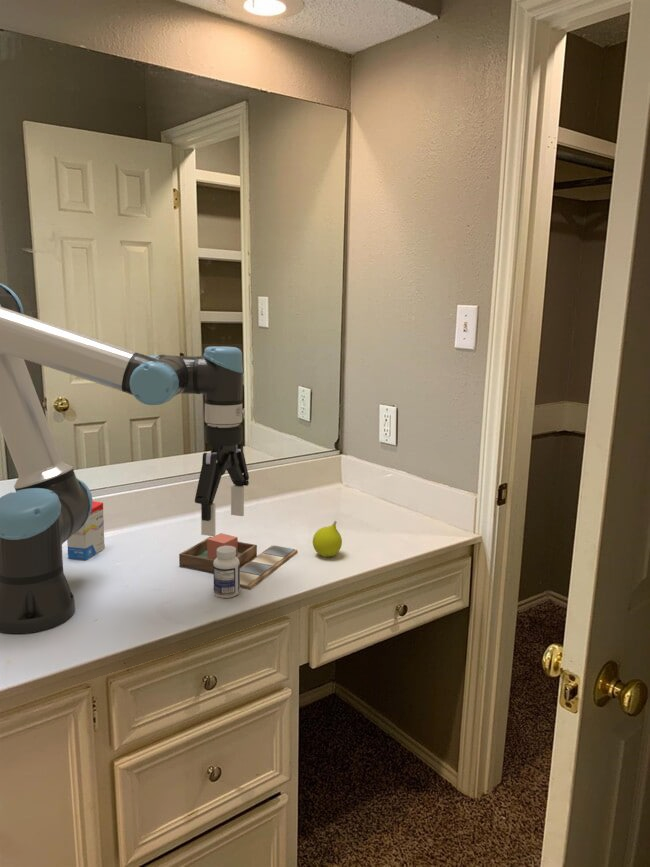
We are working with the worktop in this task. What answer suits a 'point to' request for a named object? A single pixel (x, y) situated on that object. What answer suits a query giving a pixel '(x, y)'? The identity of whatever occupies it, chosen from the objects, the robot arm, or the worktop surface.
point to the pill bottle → (226, 572)
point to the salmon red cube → (220, 544)
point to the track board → (264, 565)
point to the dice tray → (199, 560)
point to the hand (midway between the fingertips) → (223, 524)
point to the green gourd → (327, 541)
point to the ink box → (88, 536)
